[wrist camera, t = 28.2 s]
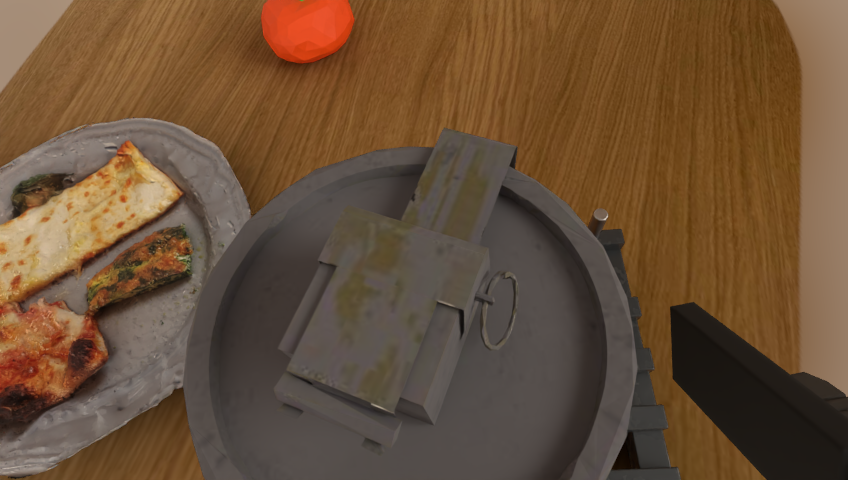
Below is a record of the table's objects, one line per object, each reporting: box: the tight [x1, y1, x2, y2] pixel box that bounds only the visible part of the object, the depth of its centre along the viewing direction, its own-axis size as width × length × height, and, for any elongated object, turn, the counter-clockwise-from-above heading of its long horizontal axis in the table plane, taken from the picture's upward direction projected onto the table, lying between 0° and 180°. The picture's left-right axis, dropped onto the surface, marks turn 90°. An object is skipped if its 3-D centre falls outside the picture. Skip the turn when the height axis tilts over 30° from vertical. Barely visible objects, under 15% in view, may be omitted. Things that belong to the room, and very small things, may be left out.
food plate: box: [0, 117, 251, 479], centre depth 34 cm, size 25×23×4 cm
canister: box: [183, 128, 638, 480], centre depth 18 cm, size 11×10×20 cm
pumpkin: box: [261, 0, 355, 63], centre depth 41 cm, size 7×8×6 cm
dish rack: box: [587, 209, 681, 480], centre depth 27 cm, size 20×22×6 cm
